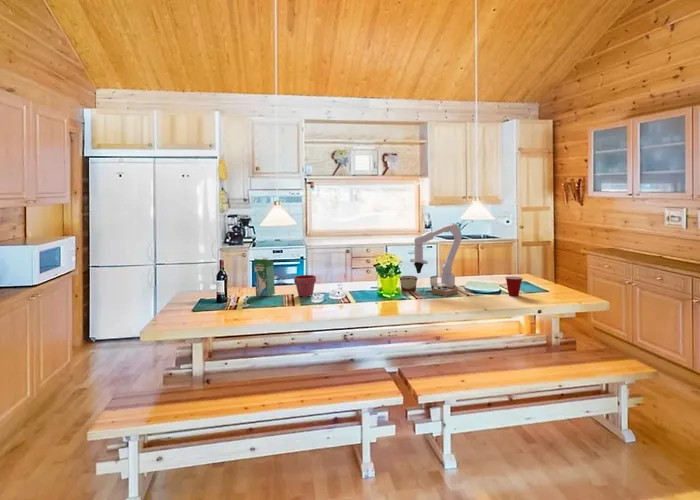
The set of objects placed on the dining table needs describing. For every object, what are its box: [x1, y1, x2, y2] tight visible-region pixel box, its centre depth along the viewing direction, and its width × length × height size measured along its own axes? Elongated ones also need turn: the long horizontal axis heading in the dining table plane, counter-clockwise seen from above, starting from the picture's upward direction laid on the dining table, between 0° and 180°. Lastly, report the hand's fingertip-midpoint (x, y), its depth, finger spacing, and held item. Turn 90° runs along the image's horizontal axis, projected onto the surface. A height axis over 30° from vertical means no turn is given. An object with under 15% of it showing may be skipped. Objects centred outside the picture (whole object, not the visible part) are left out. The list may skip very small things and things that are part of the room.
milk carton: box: [253, 257, 276, 297], centre depth 320 cm, size 9×9×25 cm
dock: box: [423, 286, 459, 297], centre depth 318 cm, size 12×21×4 cm, turn 40°
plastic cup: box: [504, 275, 524, 297], centre depth 304 cm, size 11×11×12 cm
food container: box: [399, 275, 419, 293], centre depth 323 cm, size 12×6×10 cm, turn 84°
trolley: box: [429, 275, 447, 289], centre depth 318 cm, size 7×9×8 cm
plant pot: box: [293, 274, 317, 298], centre depth 316 cm, size 14×14×13 cm
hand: (418, 273), depth 336 cm, fingers closed
